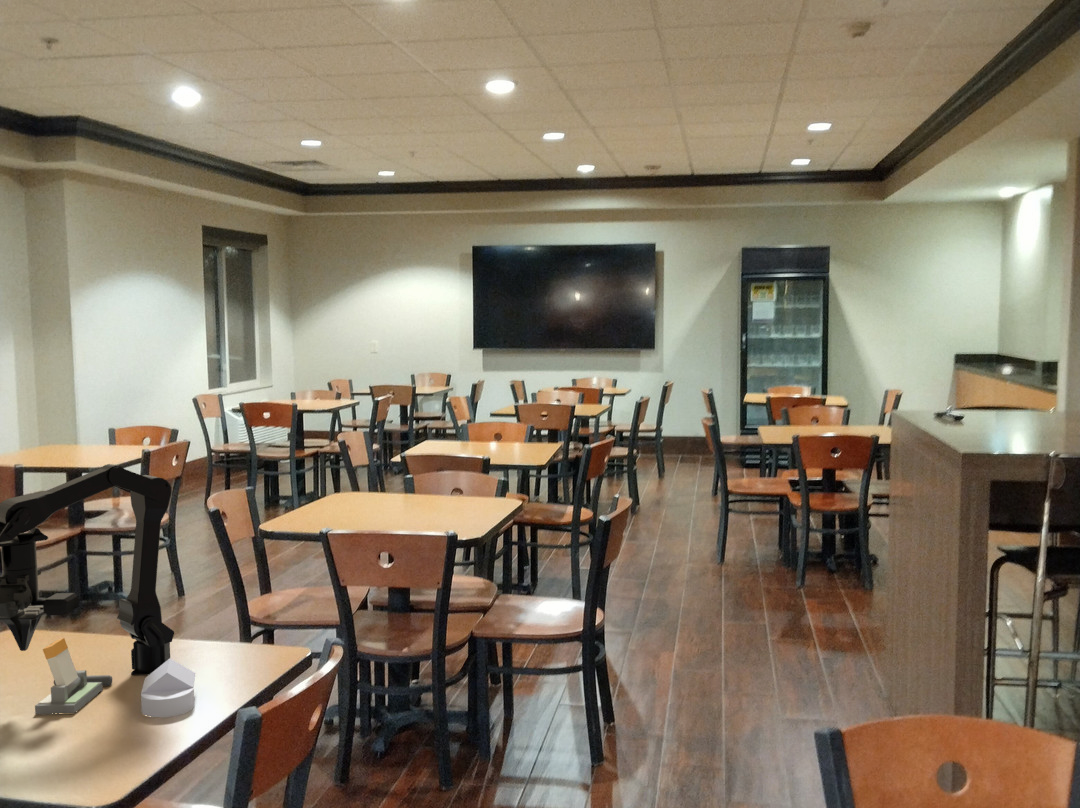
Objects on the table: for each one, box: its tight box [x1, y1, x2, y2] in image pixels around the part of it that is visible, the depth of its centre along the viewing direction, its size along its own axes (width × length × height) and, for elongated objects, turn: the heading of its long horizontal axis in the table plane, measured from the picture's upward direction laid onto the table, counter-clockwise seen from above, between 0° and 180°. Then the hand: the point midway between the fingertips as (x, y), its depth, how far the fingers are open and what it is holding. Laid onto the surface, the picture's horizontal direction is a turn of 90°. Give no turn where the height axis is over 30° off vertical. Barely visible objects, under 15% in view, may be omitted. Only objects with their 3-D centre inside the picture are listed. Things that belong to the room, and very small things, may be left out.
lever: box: [42, 637, 81, 694], centre depth 185 cm, size 2×6×10 cm, turn 1°
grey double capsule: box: [53, 674, 113, 687], centre depth 195 cm, size 11×3×2 cm, turn 91°
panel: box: [34, 669, 104, 715], centre depth 185 cm, size 7×12×4 cm, turn 1°
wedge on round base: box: [140, 657, 196, 718], centre depth 184 cm, size 9×7×13 cm
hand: (24, 650), depth 185 cm, fingers closed
